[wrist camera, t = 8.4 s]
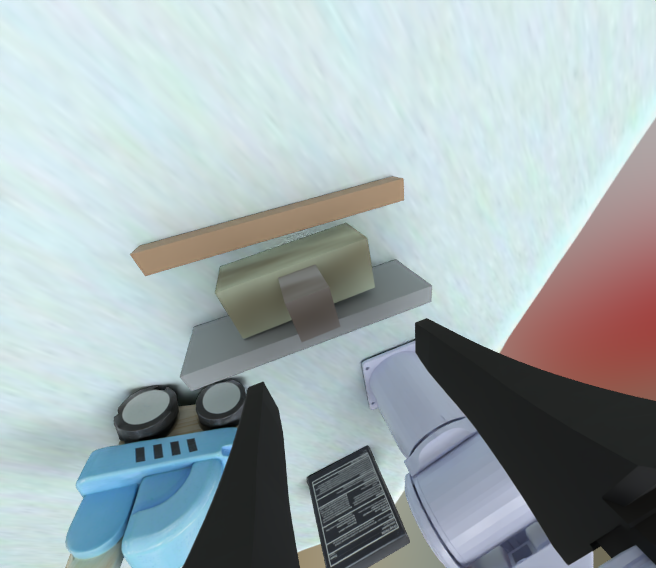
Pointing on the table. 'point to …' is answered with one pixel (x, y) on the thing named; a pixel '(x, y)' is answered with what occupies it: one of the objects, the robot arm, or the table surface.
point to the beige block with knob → (297, 283)
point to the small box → (355, 513)
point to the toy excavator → (154, 479)
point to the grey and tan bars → (244, 354)
